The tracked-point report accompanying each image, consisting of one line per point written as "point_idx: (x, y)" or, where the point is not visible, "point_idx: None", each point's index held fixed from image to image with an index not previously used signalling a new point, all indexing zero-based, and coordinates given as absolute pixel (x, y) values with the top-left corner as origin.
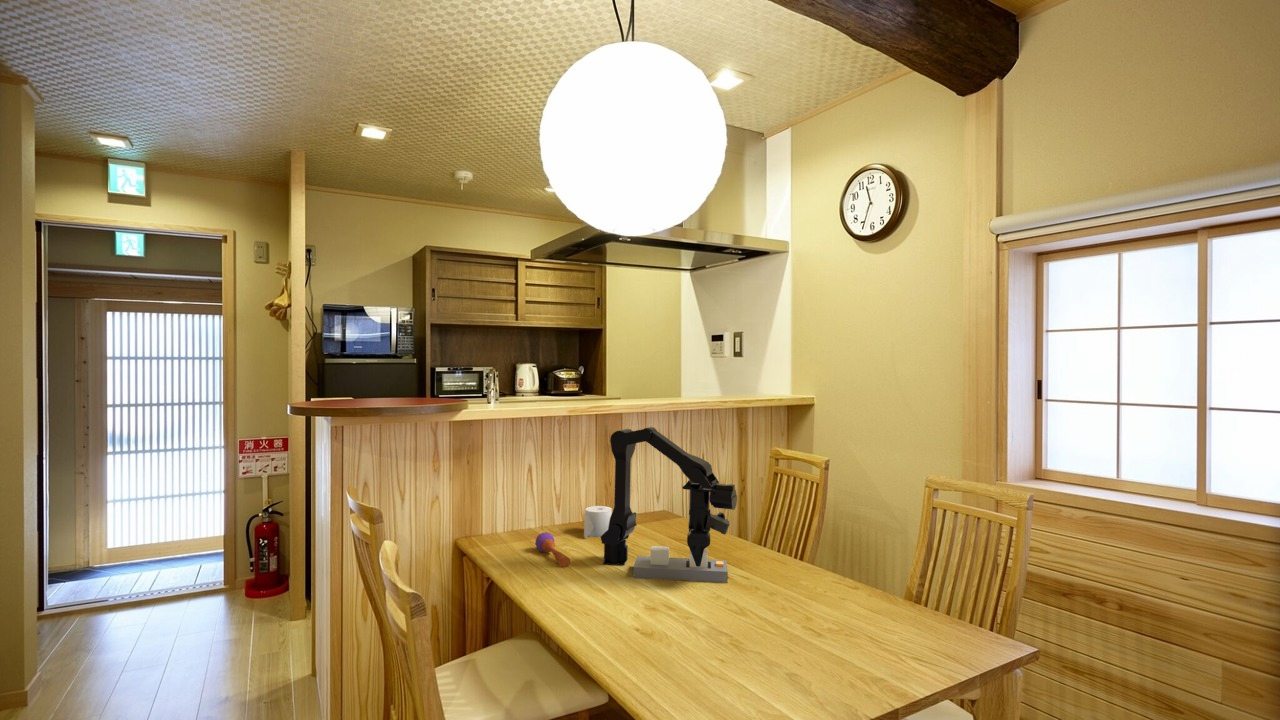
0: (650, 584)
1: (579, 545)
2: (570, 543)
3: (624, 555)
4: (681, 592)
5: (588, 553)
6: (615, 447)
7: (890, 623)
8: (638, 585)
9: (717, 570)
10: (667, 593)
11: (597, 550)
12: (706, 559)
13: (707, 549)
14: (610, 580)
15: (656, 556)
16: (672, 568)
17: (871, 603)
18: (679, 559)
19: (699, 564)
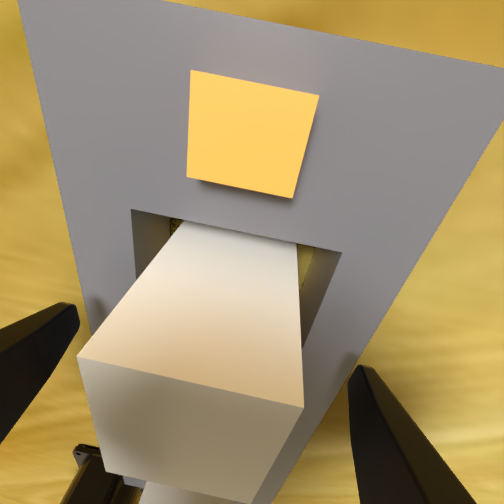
0: (342, 444)
1: (8, 486)
2: (3, 493)
3: (114, 492)
4: (487, 388)
5: (64, 486)
6: None
7: None
8: (344, 466)
9: (419, 202)
10: (469, 427)
11: (28, 471)
12: (296, 337)
13: (109, 366)
14: (284, 496)
15: None
16: (298, 441)
17: None
18: None
19: (378, 387)
